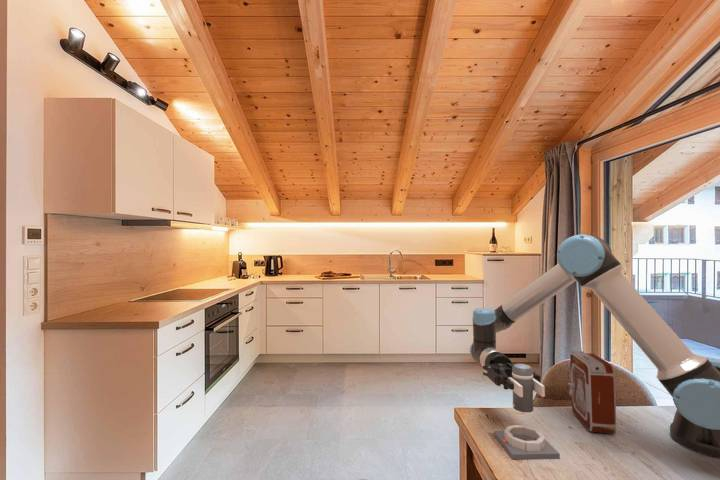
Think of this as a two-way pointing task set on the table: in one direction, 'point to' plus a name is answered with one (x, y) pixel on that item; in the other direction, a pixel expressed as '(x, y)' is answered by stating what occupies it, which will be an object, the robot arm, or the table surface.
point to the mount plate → (524, 454)
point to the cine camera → (593, 392)
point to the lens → (524, 378)
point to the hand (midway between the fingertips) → (532, 391)
